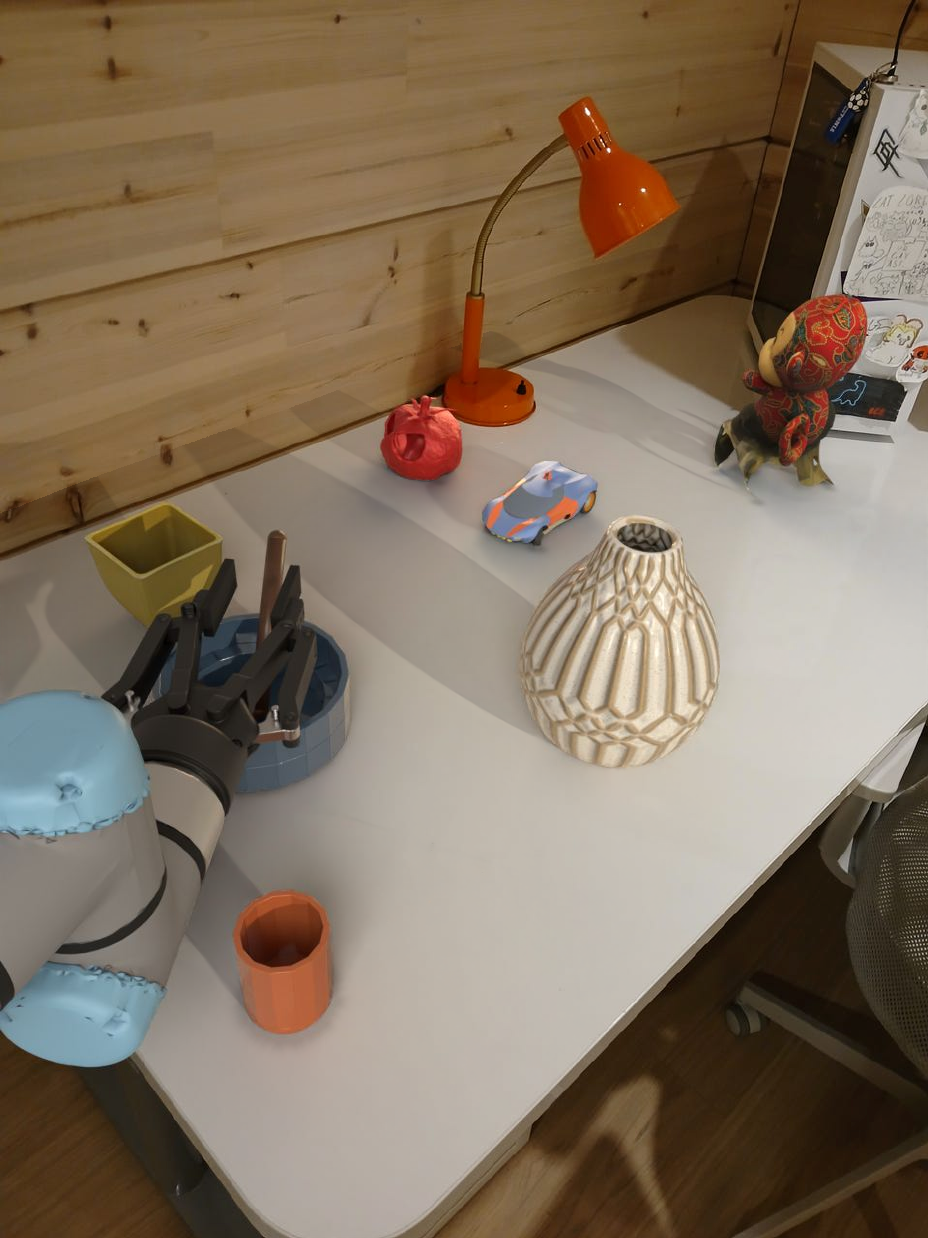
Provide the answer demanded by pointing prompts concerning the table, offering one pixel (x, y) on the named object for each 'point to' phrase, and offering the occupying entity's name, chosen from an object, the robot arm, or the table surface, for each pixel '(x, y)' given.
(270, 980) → the holder
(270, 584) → the stick
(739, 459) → the stuffed monkey
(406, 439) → the pomegranate
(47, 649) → the table surface
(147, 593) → the flower pot
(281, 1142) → the table surface
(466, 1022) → the table surface
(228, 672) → the bowl
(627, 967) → the table surface
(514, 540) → the toy car
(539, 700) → the vase
